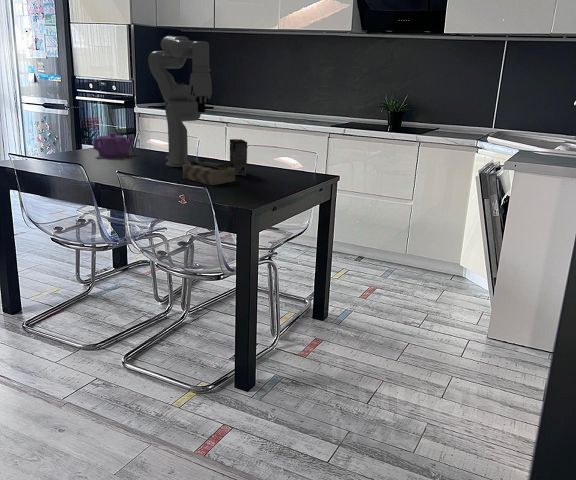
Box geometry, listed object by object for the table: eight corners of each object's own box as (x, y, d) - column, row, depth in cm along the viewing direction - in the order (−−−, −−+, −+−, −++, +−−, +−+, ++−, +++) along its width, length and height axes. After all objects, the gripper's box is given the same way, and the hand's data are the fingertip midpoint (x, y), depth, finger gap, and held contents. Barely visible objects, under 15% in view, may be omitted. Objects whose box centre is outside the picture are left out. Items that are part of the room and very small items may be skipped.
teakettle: (92, 157, 299) (90, 134, 295) (106, 152, 315) (104, 130, 311) (122, 159, 297) (121, 135, 293) (134, 154, 313) (133, 132, 309)
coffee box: (229, 172, 273) (229, 139, 268) (241, 171, 275) (242, 138, 270) (234, 175, 265) (234, 141, 260) (247, 175, 267) (247, 141, 262)
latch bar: (194, 164, 256) (194, 162, 256) (200, 163, 259) (200, 161, 259) (217, 167, 246) (217, 165, 246) (223, 166, 249) (223, 164, 249)
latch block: (182, 177, 256) (182, 159, 253) (206, 174, 266) (206, 156, 263) (211, 185, 243) (211, 166, 241) (235, 181, 253) (235, 162, 251)
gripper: (208, 70, 258) (208, 110, 264) (182, 69, 248) (183, 112, 253) (219, 71, 254) (219, 112, 259) (193, 70, 243) (193, 113, 249)
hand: (201, 112), depth 256 cm, fingers closed
